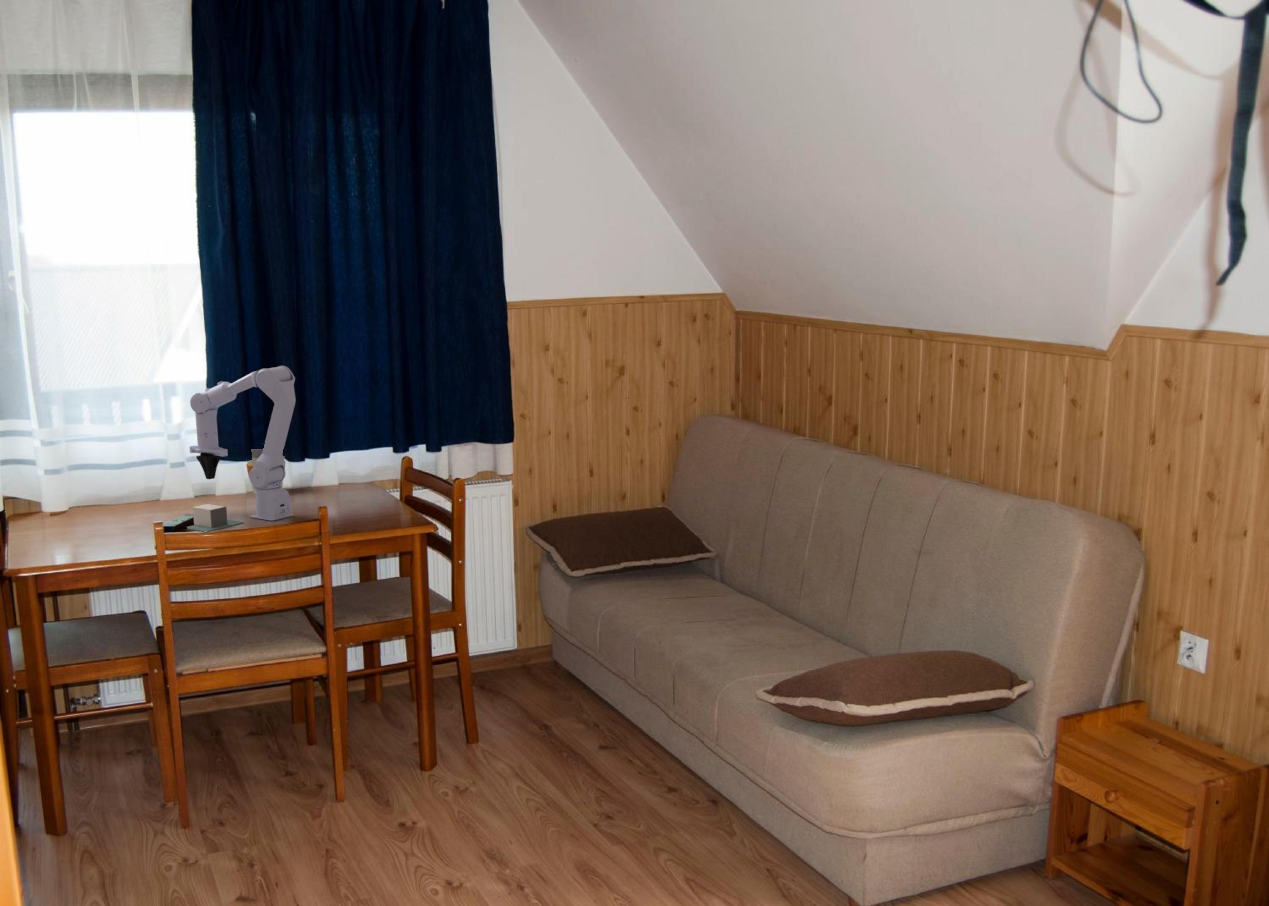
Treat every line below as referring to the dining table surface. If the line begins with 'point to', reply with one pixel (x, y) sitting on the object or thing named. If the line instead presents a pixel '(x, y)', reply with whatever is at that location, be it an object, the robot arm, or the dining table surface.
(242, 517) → the dining table surface
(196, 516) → the gray block
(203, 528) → the dice mat
